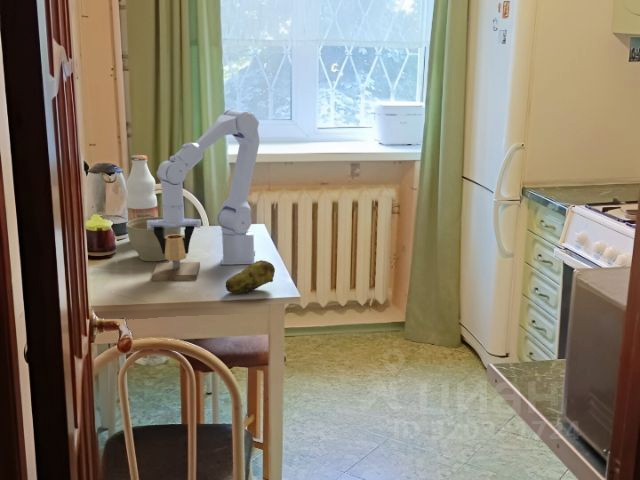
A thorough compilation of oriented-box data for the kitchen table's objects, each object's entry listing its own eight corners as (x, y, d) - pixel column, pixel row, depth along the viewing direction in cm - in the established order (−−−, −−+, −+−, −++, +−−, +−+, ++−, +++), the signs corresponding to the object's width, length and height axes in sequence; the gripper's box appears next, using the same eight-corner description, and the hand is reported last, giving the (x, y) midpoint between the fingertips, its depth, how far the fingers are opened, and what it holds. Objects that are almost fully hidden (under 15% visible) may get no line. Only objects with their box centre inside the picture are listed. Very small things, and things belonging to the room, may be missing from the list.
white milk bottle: (123, 243, 252) (117, 157, 244) (143, 237, 260) (137, 153, 252) (146, 247, 247) (140, 159, 240) (165, 240, 255) (160, 155, 248)
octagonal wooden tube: (186, 254, 222) (185, 234, 221) (185, 260, 217) (183, 239, 215) (166, 255, 222) (165, 234, 220) (164, 260, 217) (163, 239, 215)
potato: (226, 287, 209) (225, 258, 207) (274, 285, 210) (274, 256, 208) (225, 297, 201) (224, 267, 199) (276, 295, 202) (275, 266, 200)
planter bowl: (166, 267, 227) (164, 231, 224) (118, 262, 232) (115, 226, 229) (192, 252, 241) (191, 218, 239) (146, 248, 246) (144, 214, 244)
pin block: (200, 266, 227) (199, 246, 225) (196, 279, 215) (195, 258, 214) (158, 268, 226) (156, 247, 225) (152, 280, 215) (150, 259, 213)
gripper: (144, 208, 211) (147, 257, 215) (198, 207, 212) (200, 256, 216) (147, 203, 218) (150, 250, 222) (200, 202, 219) (202, 249, 223)
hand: (175, 252), depth 219 cm, fingers closed on octagonal wooden tube, 6 cm apart
